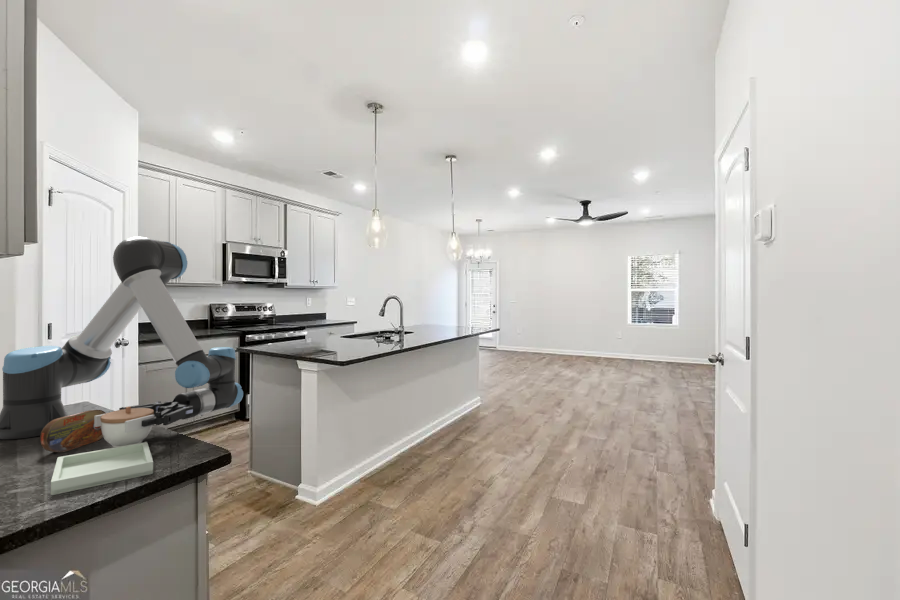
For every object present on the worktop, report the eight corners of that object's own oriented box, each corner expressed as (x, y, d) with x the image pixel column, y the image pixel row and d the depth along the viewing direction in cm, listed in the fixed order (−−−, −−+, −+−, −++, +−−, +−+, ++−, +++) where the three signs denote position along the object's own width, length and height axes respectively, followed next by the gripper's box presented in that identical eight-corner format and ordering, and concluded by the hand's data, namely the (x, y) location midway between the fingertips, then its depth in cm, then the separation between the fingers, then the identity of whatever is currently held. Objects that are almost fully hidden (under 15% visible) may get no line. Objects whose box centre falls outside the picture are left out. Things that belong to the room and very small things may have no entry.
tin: (47, 457, 98) (47, 422, 98) (36, 456, 99) (37, 421, 99) (110, 437, 113) (111, 406, 113) (101, 436, 113) (102, 405, 113)
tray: (57, 468, 91) (57, 457, 91) (146, 452, 102) (147, 441, 102) (50, 495, 79) (50, 481, 79) (153, 473, 90) (153, 461, 90)
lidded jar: (151, 446, 104) (152, 409, 104) (96, 454, 98) (96, 414, 98) (154, 434, 113) (155, 399, 113) (104, 440, 107) (104, 404, 107)
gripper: (222, 421, 118) (142, 446, 97) (165, 412, 126) (80, 433, 105) (223, 394, 118) (143, 414, 97) (165, 387, 126) (80, 404, 105)
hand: (110, 424), depth 101 cm, fingers closed on lidded jar, 11 cm apart
